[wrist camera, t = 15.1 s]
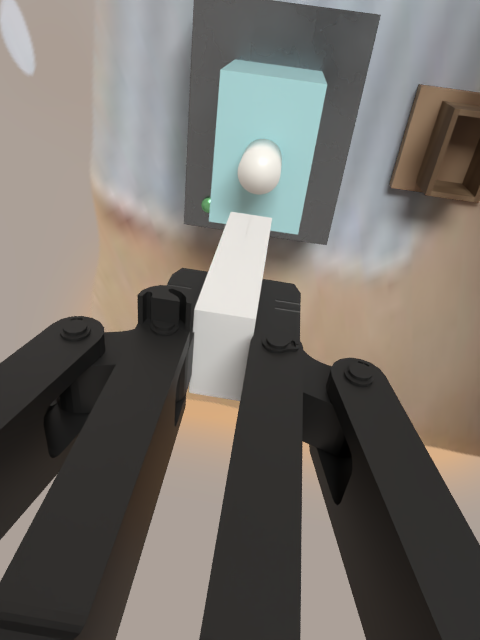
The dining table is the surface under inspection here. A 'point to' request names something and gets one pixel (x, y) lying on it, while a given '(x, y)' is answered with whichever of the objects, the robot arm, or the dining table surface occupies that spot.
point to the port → (285, 50)
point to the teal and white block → (265, 141)
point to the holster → (441, 145)
